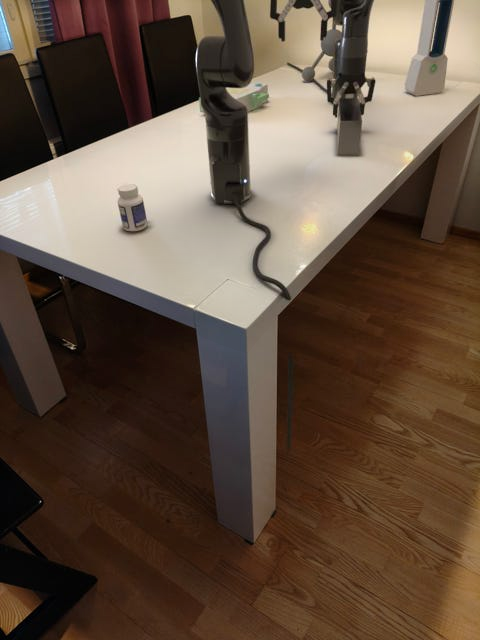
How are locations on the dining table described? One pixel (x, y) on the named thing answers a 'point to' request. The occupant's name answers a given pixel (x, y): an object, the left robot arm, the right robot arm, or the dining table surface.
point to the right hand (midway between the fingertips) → (347, 116)
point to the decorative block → (249, 95)
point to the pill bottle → (131, 208)
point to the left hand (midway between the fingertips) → (302, 40)
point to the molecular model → (324, 51)
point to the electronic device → (428, 63)
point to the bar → (349, 127)
